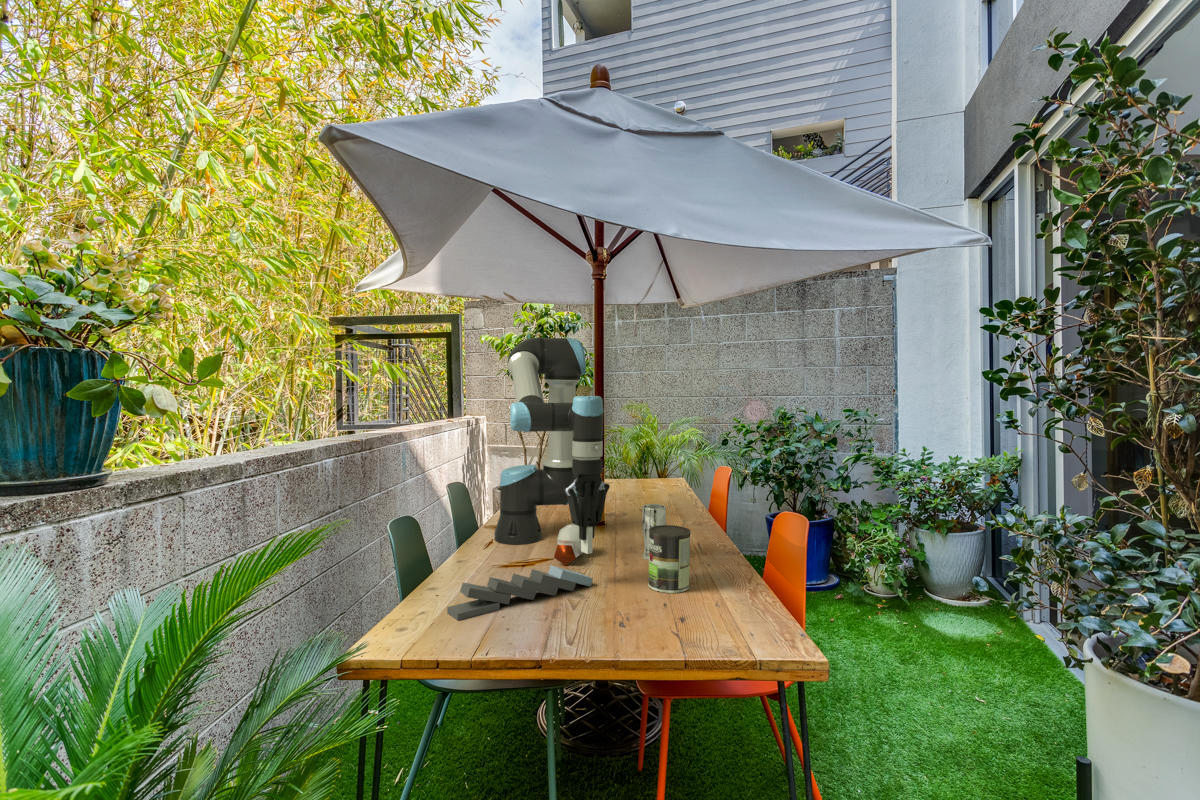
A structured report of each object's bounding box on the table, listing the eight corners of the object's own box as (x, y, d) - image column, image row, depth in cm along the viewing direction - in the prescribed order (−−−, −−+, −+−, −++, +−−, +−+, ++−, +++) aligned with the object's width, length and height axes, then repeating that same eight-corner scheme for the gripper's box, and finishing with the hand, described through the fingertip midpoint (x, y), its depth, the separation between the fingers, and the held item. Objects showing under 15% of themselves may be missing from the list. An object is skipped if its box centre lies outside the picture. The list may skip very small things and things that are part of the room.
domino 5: (573, 591, 142) (540, 583, 136) (561, 585, 146) (529, 577, 140) (575, 583, 143) (543, 574, 137) (564, 577, 147) (532, 569, 141)
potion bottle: (581, 555, 178) (570, 577, 163) (555, 535, 178) (541, 555, 163) (598, 532, 176) (588, 552, 161) (572, 512, 176) (560, 530, 161)
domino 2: (499, 612, 130) (457, 623, 124) (488, 605, 134) (447, 616, 128) (499, 603, 130) (457, 613, 124) (488, 597, 134) (447, 606, 128)
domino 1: (508, 604, 132) (467, 597, 127) (500, 598, 136) (460, 591, 132) (511, 595, 133) (469, 588, 128) (502, 589, 137) (462, 582, 132)
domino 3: (533, 600, 136) (494, 591, 131) (524, 594, 140) (486, 585, 135) (536, 591, 136) (497, 582, 131) (527, 586, 140) (489, 576, 136)
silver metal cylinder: (665, 554, 174) (666, 504, 174) (665, 561, 167) (666, 508, 167) (641, 554, 175) (642, 503, 174) (641, 560, 168) (641, 508, 167)
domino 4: (555, 596, 139) (521, 588, 133) (544, 590, 143) (510, 582, 137) (558, 587, 140) (524, 579, 134) (547, 582, 144) (513, 573, 138)
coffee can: (659, 595, 140) (659, 536, 140) (641, 582, 150) (642, 526, 149) (697, 590, 143) (698, 533, 143) (677, 577, 153) (678, 523, 153)
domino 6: (580, 573, 150) (550, 565, 144) (593, 578, 146) (562, 570, 140) (578, 581, 150) (548, 573, 144) (590, 586, 146) (560, 578, 140)
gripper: (575, 461, 140) (574, 560, 141) (617, 457, 149) (616, 551, 149) (557, 458, 146) (556, 553, 147) (598, 454, 154) (597, 544, 155)
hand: (586, 552), depth 148 cm, fingers closed
